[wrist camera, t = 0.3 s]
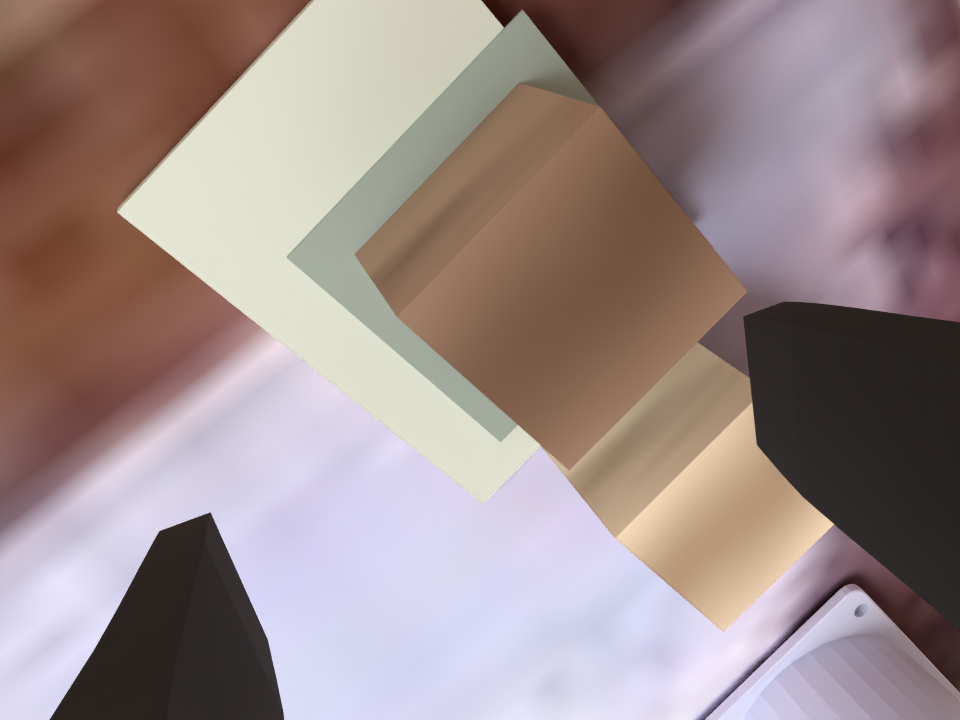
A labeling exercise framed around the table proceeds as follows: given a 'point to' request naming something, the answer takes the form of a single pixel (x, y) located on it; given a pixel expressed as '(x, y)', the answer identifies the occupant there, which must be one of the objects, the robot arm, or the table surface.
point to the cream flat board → (350, 200)
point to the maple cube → (698, 489)
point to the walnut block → (551, 269)
